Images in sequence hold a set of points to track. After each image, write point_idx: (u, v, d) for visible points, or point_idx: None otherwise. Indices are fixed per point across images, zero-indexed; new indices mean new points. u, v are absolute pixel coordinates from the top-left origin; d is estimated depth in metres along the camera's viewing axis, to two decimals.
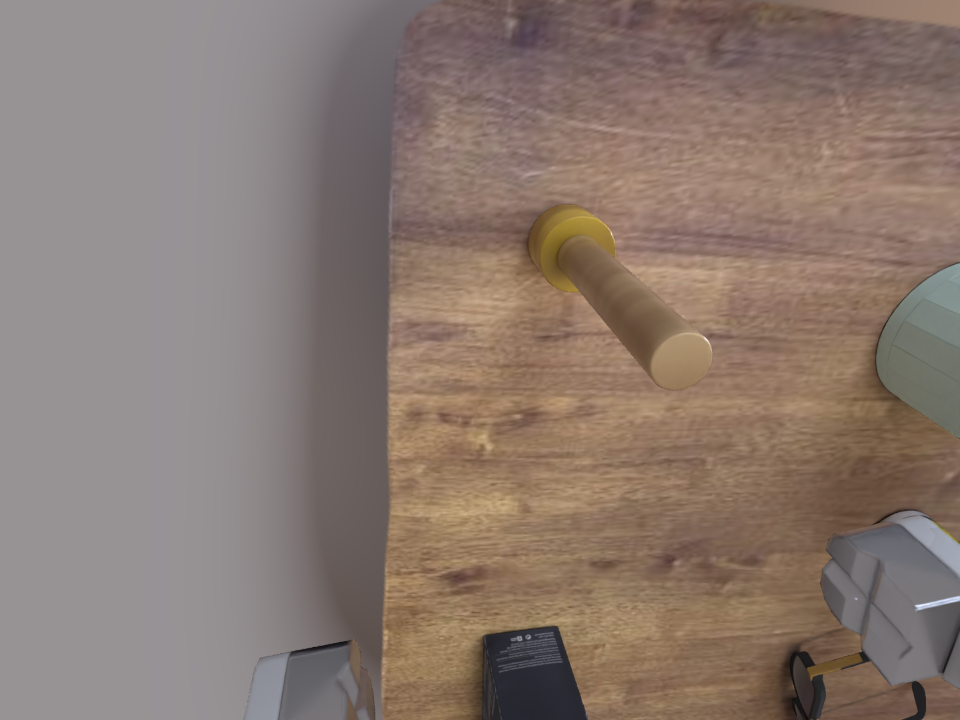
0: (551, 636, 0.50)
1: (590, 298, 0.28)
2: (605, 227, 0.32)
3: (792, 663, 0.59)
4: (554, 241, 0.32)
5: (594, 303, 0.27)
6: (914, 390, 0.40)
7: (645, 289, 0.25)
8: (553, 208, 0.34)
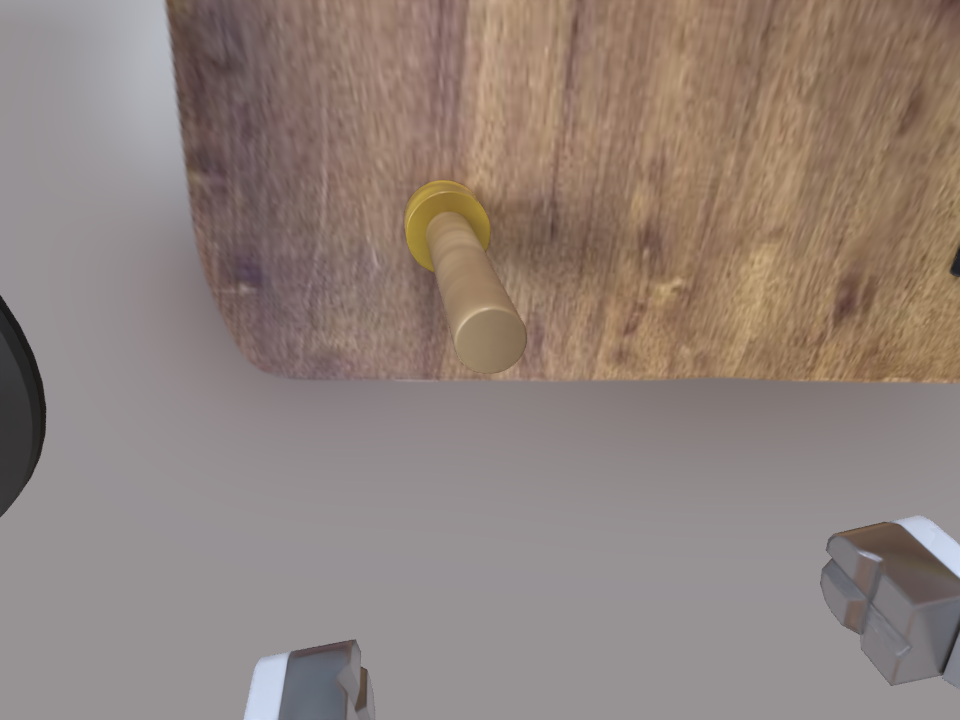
0: None
1: None
2: (418, 207, 0.30)
3: None
4: None
5: None
6: None
7: (442, 289, 0.23)
8: None
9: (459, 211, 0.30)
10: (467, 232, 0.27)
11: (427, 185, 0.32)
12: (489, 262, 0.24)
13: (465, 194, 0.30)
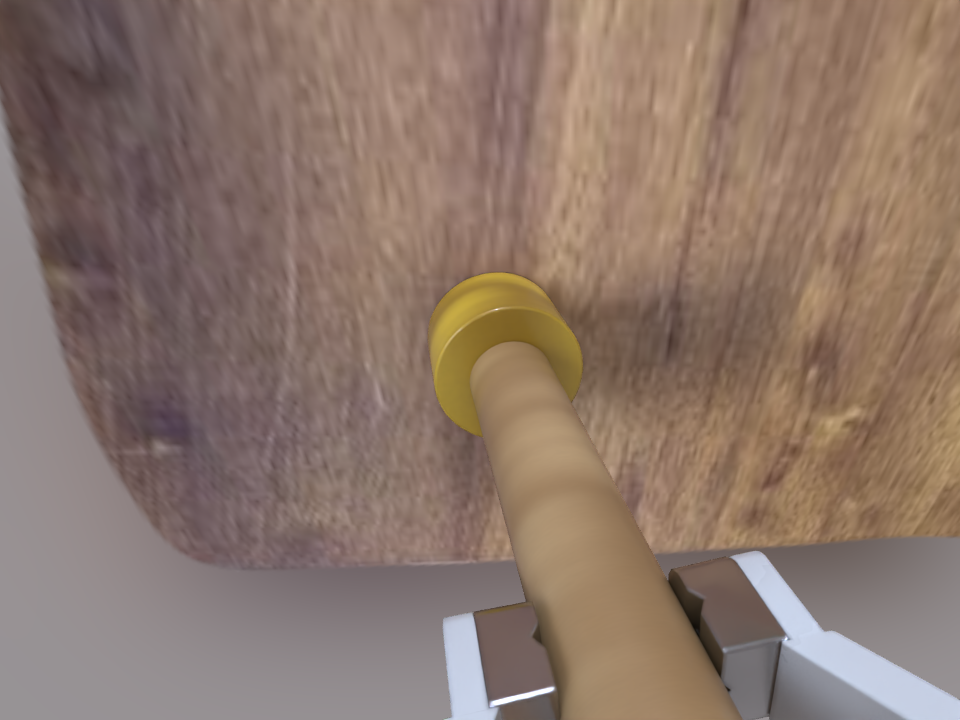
0: None
1: None
2: (457, 335, 0.16)
3: None
4: None
5: None
6: None
7: (541, 630, 0.09)
8: None
9: (530, 341, 0.17)
10: (563, 414, 0.13)
11: (469, 283, 0.18)
12: (640, 534, 0.10)
13: (542, 310, 0.16)
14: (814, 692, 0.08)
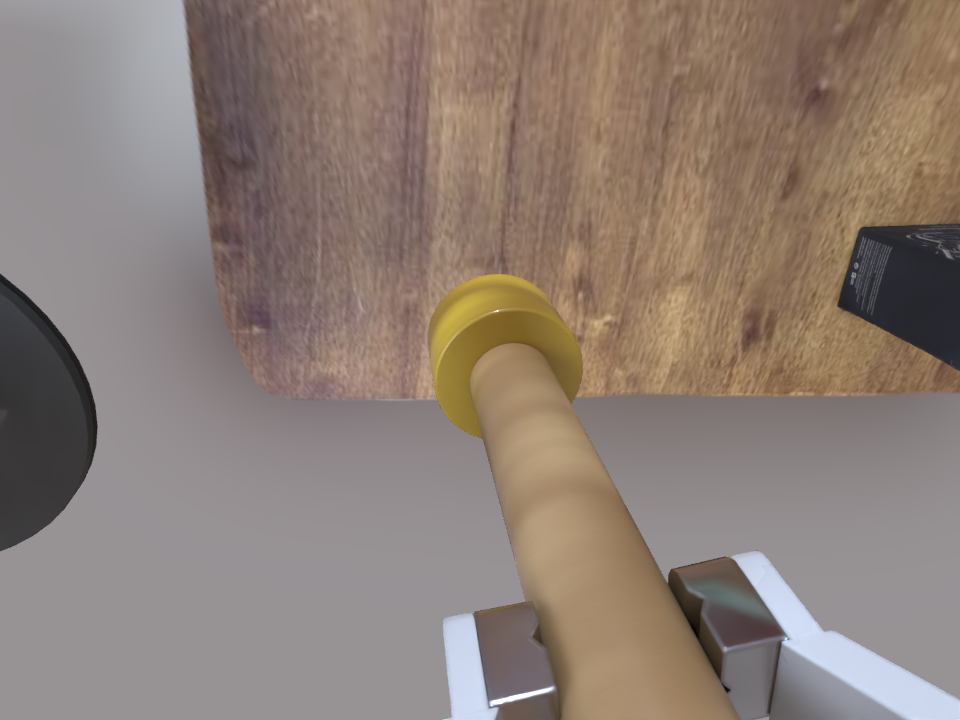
0: (865, 241, 0.45)
1: None
2: (457, 337, 0.16)
3: None
4: None
5: None
6: None
7: (540, 632, 0.09)
8: None
9: (530, 342, 0.17)
10: (563, 416, 0.13)
11: (469, 285, 0.18)
12: (639, 535, 0.10)
13: (542, 312, 0.16)
14: (814, 692, 0.08)
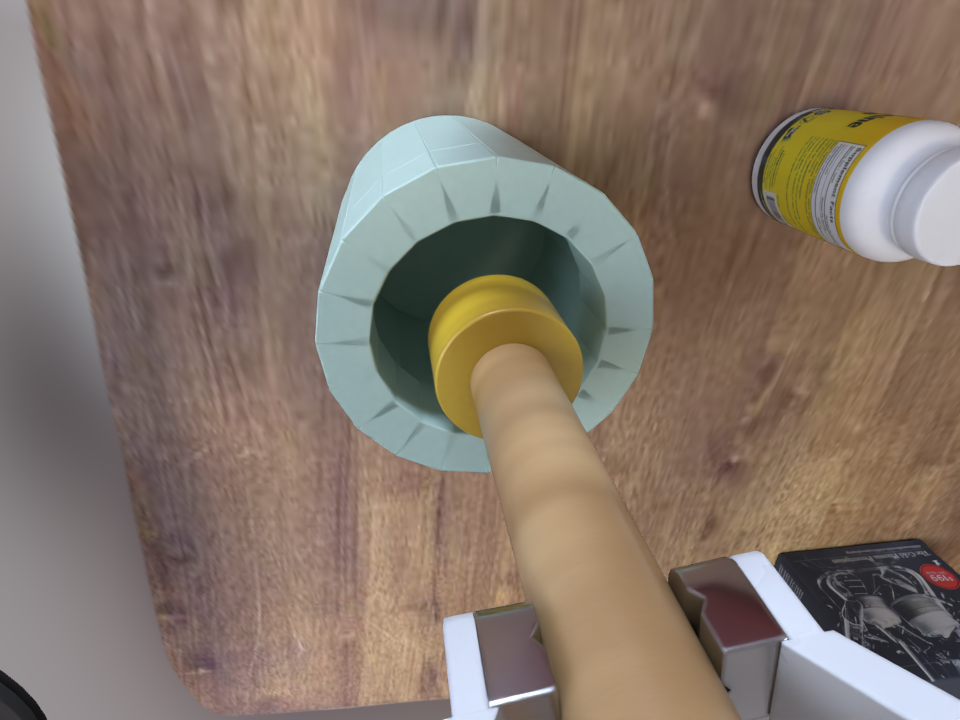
0: (783, 570, 0.47)
1: None
2: (457, 337, 0.16)
3: None
4: None
5: None
6: None
7: (541, 633, 0.09)
8: None
9: (530, 342, 0.17)
10: (564, 416, 0.13)
11: (470, 285, 0.18)
12: (640, 536, 0.10)
13: (543, 312, 0.16)
14: (814, 692, 0.08)
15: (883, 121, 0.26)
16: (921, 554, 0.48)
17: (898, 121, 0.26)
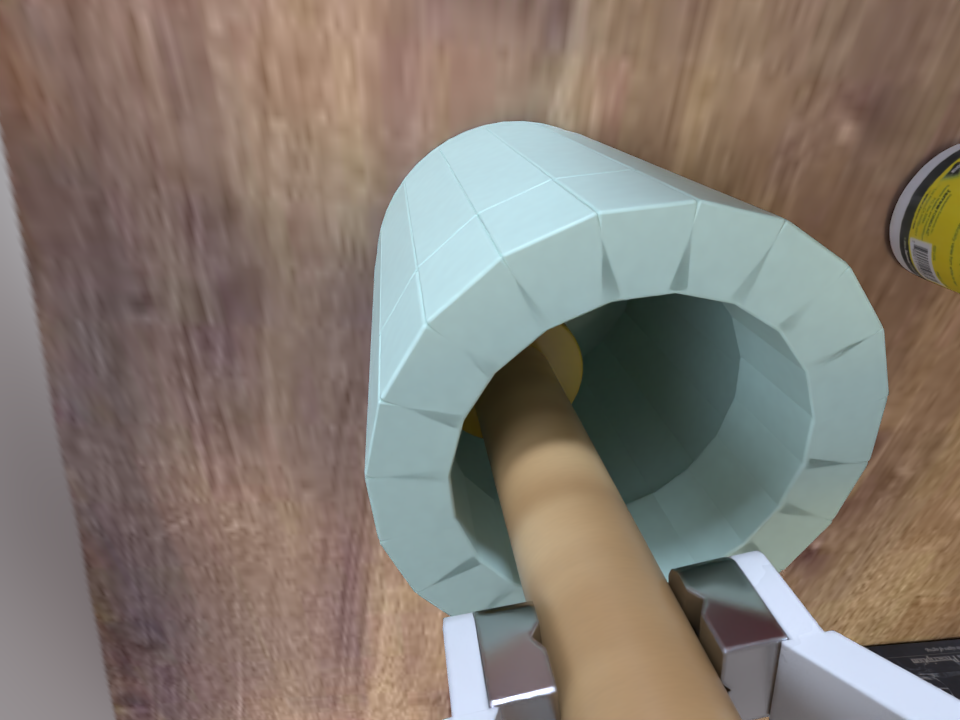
0: None
1: None
2: None
3: None
4: None
5: None
6: None
7: (541, 632, 0.09)
8: None
9: None
10: (564, 415, 0.13)
11: None
12: (639, 535, 0.10)
13: None
14: (814, 692, 0.08)
15: None
16: None
17: None
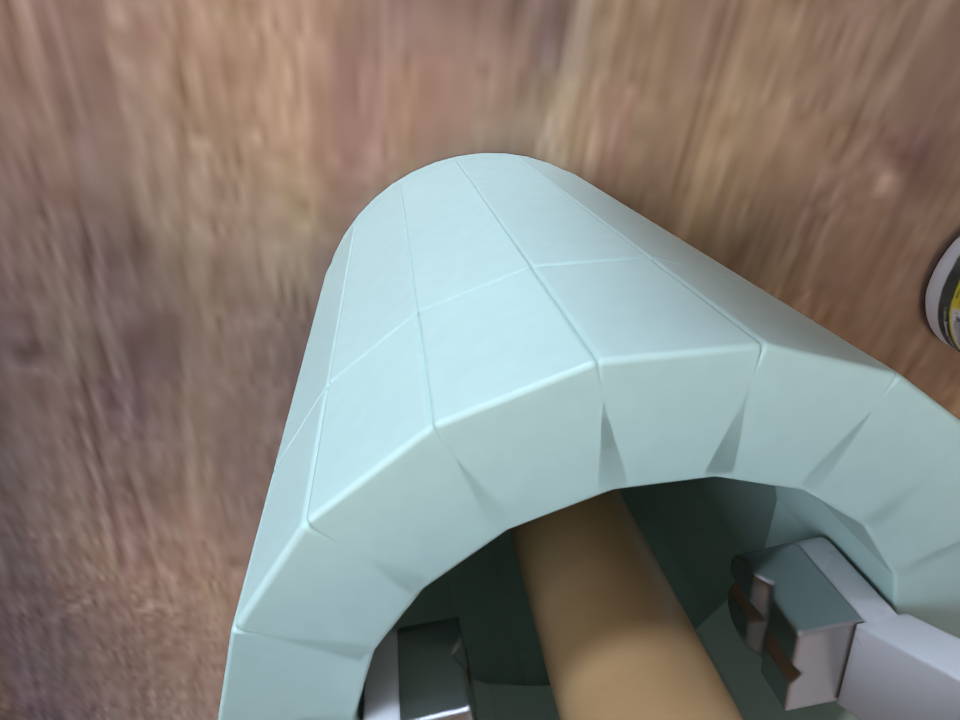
0: None
1: None
2: None
3: None
4: None
5: None
6: None
7: (543, 631, 0.09)
8: None
9: None
10: None
11: None
12: (641, 535, 0.10)
13: None
14: (890, 674, 0.08)
15: None
16: None
17: None
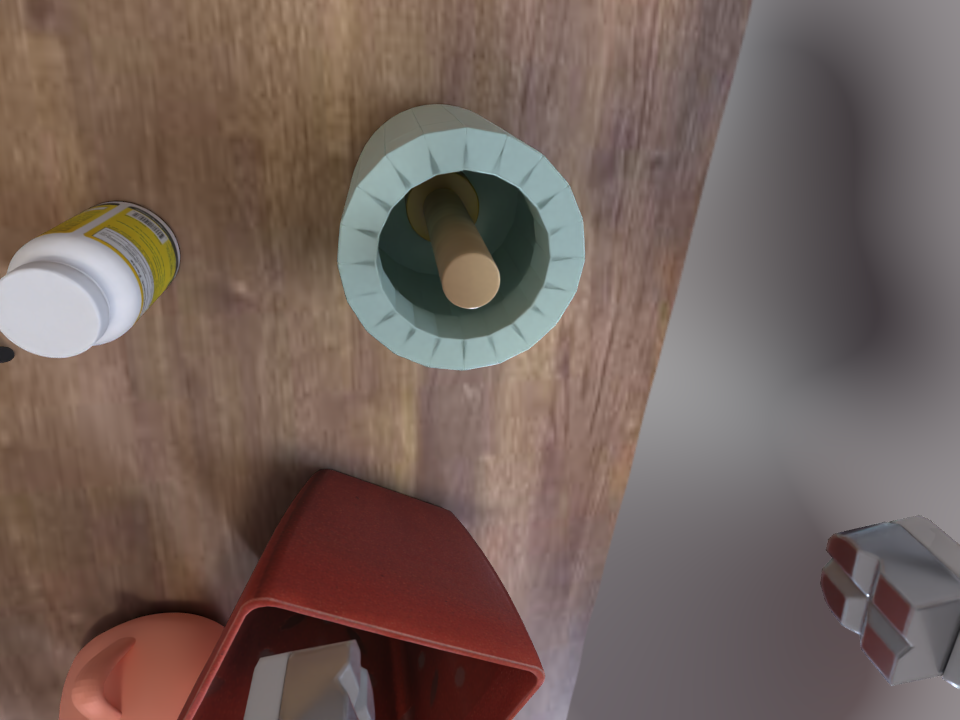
0: None
1: (447, 212, 0.29)
2: None
3: None
4: (454, 182, 0.35)
5: (448, 215, 0.29)
6: (401, 118, 0.33)
7: None
8: None
9: None
10: None
11: None
12: None
13: None
14: None
15: None
16: None
17: None
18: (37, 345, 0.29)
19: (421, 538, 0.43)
